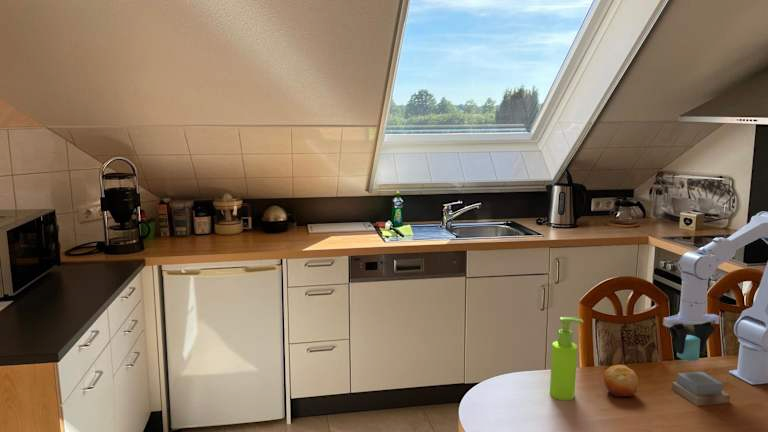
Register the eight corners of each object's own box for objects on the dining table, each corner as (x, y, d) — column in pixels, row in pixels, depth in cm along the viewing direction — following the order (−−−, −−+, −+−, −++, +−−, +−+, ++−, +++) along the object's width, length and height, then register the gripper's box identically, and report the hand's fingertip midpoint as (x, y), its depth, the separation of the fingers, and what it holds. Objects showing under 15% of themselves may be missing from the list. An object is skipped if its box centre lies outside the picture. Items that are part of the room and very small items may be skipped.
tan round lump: (629, 378, 153) (636, 360, 148) (636, 405, 147) (644, 387, 142) (597, 377, 154) (603, 358, 149) (603, 404, 148) (609, 385, 143)
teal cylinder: (689, 352, 153) (691, 334, 153) (703, 359, 149) (705, 340, 148) (672, 353, 152) (674, 335, 152) (685, 361, 148) (687, 342, 147)
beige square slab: (702, 388, 152) (703, 379, 152) (729, 404, 143) (730, 395, 143) (671, 391, 150) (672, 382, 150) (696, 408, 142) (697, 398, 141)
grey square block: (701, 380, 151) (702, 371, 150) (721, 393, 144) (722, 383, 143) (676, 382, 149) (677, 373, 149) (695, 395, 143) (696, 385, 142)
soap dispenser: (580, 401, 143) (584, 323, 140) (550, 399, 145) (554, 321, 141) (577, 391, 149) (581, 315, 146) (549, 388, 150) (552, 313, 147)
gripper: (707, 293, 153) (702, 343, 155) (657, 297, 150) (653, 347, 153) (727, 302, 146) (722, 354, 149) (675, 305, 144) (671, 358, 146)
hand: (688, 351), depth 150 cm, fingers closed on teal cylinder, 5 cm apart
